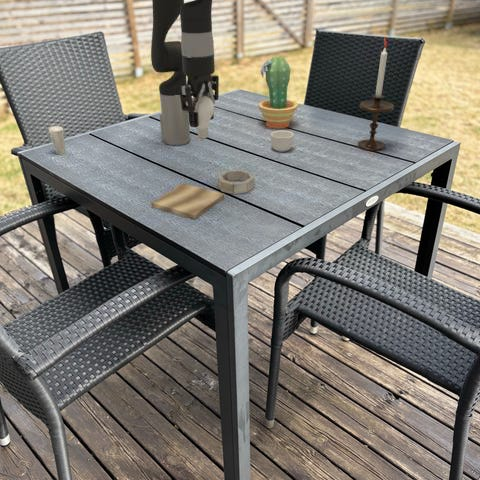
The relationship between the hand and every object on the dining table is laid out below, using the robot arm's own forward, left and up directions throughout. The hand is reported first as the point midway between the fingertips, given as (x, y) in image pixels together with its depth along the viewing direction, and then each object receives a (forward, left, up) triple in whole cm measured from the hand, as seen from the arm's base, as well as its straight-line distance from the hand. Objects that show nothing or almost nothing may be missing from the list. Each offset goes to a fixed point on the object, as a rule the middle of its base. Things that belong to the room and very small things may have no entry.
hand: (202, 122), depth 117 cm
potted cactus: (-11, +66, -21) cm, 70 cm away
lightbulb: (0, 0, -4) cm, 4 cm away
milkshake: (-62, +4, -21) cm, 66 cm away
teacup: (+2, +44, -21) cm, 49 cm away
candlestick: (+28, +60, -21) cm, 69 cm away
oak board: (-2, -5, -21) cm, 22 cm away
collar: (+4, +10, -21) cm, 24 cm away
